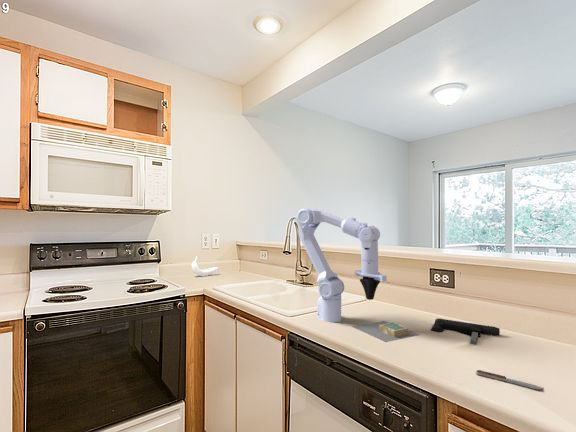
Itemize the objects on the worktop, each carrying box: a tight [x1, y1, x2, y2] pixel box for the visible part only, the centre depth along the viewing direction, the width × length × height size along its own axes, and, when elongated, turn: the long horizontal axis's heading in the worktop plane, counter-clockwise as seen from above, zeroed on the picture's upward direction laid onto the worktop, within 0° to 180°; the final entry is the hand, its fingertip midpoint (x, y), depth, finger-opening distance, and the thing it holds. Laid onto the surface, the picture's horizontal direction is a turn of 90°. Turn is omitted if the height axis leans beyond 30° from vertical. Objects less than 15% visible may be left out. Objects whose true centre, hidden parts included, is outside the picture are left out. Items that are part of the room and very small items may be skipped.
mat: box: [351, 320, 421, 343], centre depth 114 cm, size 17×15×1 cm
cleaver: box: [475, 369, 544, 391], centre depth 81 cm, size 13×2×5 cm
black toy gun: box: [430, 318, 501, 346], centre depth 113 cm, size 3×20×16 cm
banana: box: [190, 255, 219, 277], centre depth 229 cm, size 5×19×15 cm, turn 134°
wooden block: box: [379, 322, 409, 337], centre depth 112 cm, size 2×6×7 cm
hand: (370, 299), depth 118 cm, fingers closed
